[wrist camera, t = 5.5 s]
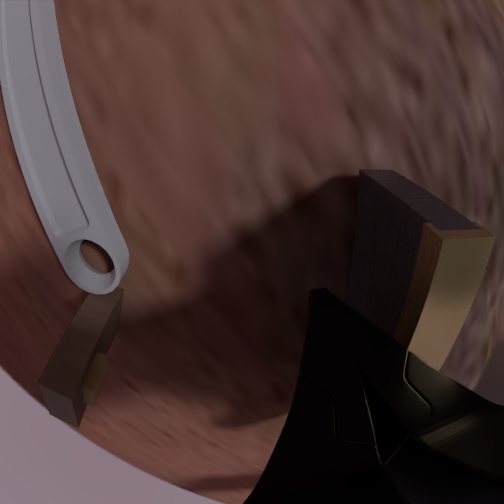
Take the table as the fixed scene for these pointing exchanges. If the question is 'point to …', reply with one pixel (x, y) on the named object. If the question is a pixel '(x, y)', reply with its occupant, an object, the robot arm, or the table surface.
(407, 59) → the table surface
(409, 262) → the gate panel
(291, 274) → the table surface
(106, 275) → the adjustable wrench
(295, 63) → the table surface
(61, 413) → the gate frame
